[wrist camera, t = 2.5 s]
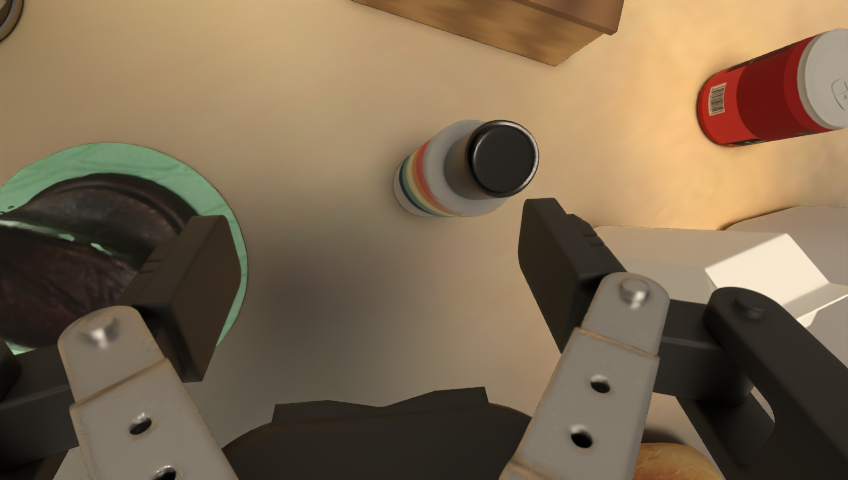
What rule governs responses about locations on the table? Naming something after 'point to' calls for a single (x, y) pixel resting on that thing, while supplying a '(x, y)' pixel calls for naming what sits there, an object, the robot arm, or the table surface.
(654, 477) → the bread roll
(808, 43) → the canned food
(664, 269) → the milk
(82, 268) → the chocolate cake
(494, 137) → the lotion bottle
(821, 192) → the table surface
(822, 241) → the plastic bottle
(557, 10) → the wall panel
